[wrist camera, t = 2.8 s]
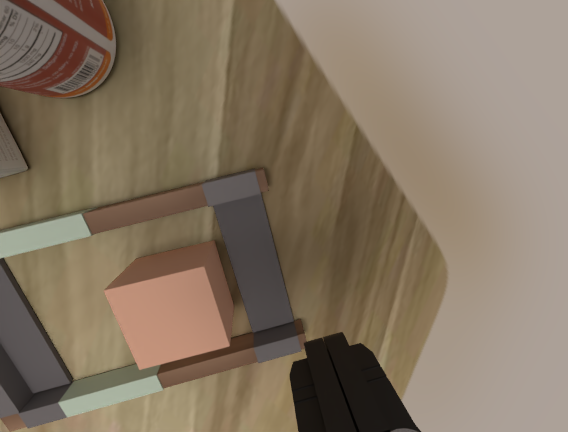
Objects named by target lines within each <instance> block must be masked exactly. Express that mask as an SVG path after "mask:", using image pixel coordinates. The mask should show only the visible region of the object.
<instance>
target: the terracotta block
mask: <svg viewBox="0 0 568 432" xmlns="http://www.w3.org/2000/svg"><path fill="white" fill-rule="evenodd" d="M104 293H105V295H106V297H107V299H108V301H109V304H110V306H111V308H112V310H113V313H114V315H115V317H116V319H117V321H118V324H119V326H120V328H121V330H122V332H123V335H124V337H125V339H126V341H127V343H128V346H129V348H130V350H131V352H132V355H133V357H134V359H135V361H136V363H137V366H138V368H139V370H141V369H145V368H149V367H153V366H157V365H160V364H164V363H168V362H172V361H176V360H180V359H183V358H187V357H191V356H195V355H199V354H202V353H206V352H210V351H214V350H218V349H222V348H225V347H229V346H230V341H231V331H232V322H233V312H234V304H233V300H232V297H231V294H230V290H229V287H228V284H227V280H226V277H225V274H224V271H223V267H222V264H221V261H220V257H219V254H218V251H217V247H216V244H215V241H214V240H213V241H209V242H205V243H200V244H196V245H192V246H188V247H183V248H179V249H175V250H171V251H166V252H162V253H158V254H154V255H149V256H145V257H141V258H137V259H135V260H134V261H133V262H132V263H131V264H130V265H129V266H128V267H127V268H126V269H125V270H124V271H123V272H122V273H121V274H120V275H119V276H118V277H117V278H116V279H115V280H114V281H113V282H112V283H111V284H110V285H109V286H108V287H107V288H106V289H105V290H104Z"/></svg>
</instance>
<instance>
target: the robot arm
mask: <svg viewBox="0 0 568 432" xmlns="http://www.w3.org/2000/svg"><path fill="white" fill-rule="evenodd" d="M323 339H324V341H323ZM323 339H322V338H319V339H315V340H311V341H308V342H304V347H305V351H306V355H307V358H306V359H302V360H299V361H295V362H293V365H292V368H291V372H290V382H291V388H292V394H293V400H294V406H295V413H296V419H297V425H298V431H299V432H421V431H420V430H419V429H418V427H416V425H415V423H414V422H413V420H412V419H411V417H410V415H409V413H408V412H407V410H406V408H405V407H404V405H403V403H402V401H401V400H400V398H399V396H398V395H397V393H396V391H395V390H394V388H393V386H392V384H391V383H390V381H389V379H388V378H387V377H386V374H385V373H384V371H383V369H382V367H380V364H379V362H378V361H377V359H376V357H375V356H374V354H373V352H372V351H370V350H369V349H368V348H367V347H365V346H364V345H363V344H361V343H359V344H355V345H352V346H349V344H348V342H347V340H346V338H345V336H344V334H343V333H342V332H340V333H336V334H333V335H329V336H326V337H323Z"/></svg>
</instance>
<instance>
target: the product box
mask: <svg viewBox="0 0 568 432" xmlns="http://www.w3.org/2000/svg"><path fill="white" fill-rule="evenodd" d="M27 169H28V167H27V165H26V162H25V160H24V158H23V156H22V154H21V152H20V150H19V148H18V146H17V144H16V142H15V140H14V138H13V136H12V134H11V132H10V131H9V129H8V127H7V125H6V123H5V121H4V119H3V117H2V115H1V113H0V178H1V177H5V176H9V175H12V174H16V173H20V172H23V171H26V170H27Z"/></svg>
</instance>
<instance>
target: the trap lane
mask: <svg viewBox="0 0 568 432" xmlns="http://www.w3.org/2000/svg"><path fill="white" fill-rule="evenodd" d="M265 191H269V188H268V184H267V180H266V176H265V172H264V169H263V168H259V169H251V170H247V171H243V172H239V173H234V174H230V175H226V176H222V177H218V178H214V179H210V180H206V181H205V182H201V183H197V184H193V185H189V186H185V187H181V188H176V189H172V190H168V191H164V192H160V193H156V194H152V195H148V196H144V197H139V198H135V199H131V200H127V201H123V202H119V203H115V204H111V205H107V206H103V207H95V208H91V209H87V210H82V211H78V212H74V213H70V214H66V215H62V216H58V217H54V218H50V219H46V220H41V221H37V222H33V223H29V224H25V225H21V226H17V227H13V228H9V229H4V230H0V418H1V420H2V421H3V423H4V424H5V425H6V427H7V428H8V430H9V431H10V432H11V431H14V430H18V429H21V428H25V427H27V428H31V427H35V426H38V425H42V424H45V423H49V422H53V421H56V420H60V419H63V418H67V417H70V416H74V415H77V414H81V413H84V412H88V411H91V410H95V409H99V408H102V407H106V406H109V405H113V404H116V403H120V402H123V401H127V400H130V399H134V398H137V397H141V396H144V395H148V394H152V393H155V392H159V391H162V390H163V389H164V388H166V387H170V386H173V385H177V384H180V383H184V382H188V381H191V380H195V379H198V378H202V377H205V376H209V375H212V374H216V373H219V372H223V371H226V370H230V369H234V368H237V367H241V366H244V365H248V364H251V363H255V362H258V363H261V362H265V361H268V360H272V359H275V358H279V357H282V356H286V355H289V354H293V353H297V352H300V351H301V349H304V348H305V347H304V342H307V341H306V337H305V333H304V330H303V326H302V323H301V319H299V320H296V321H294V320H293V316H292V312H291V308H290V304H289V300H288V296H287V292H286V288H285V285H284V281H283V277H282V273H281V269H280V265H279V261H278V257H277V254H276V250H275V246H274V242H273V238H272V234H271V230H270V226H269V222H268V219H267V215H266V211H265V207H264V203H263V199H262V195H261V192H265ZM204 206H208V207H209V206H213V207H214V210H215V214H216V217H217V220H218V223H219V226H220V229H221V233H222V236H223V239H224V242H225V245H226V249H227V252H228V255H229V258H230V261H231V264H232V268H233V271H234V274H235V277H236V280H237V283H238V287H239V290H240V293H241V296H242V299H243V303H244V306H245V309H246V312H247V315H248V318H249V322H250V325H251V328H252V331H253V332H252V333H249V334H245V335H242V336H238V337H234V338H231V341H230V346H229V347H225V348H222V349H218V350H214V351H210V352H206V353H202V354H199V355H195V356H191V357H187V358H183V359H180V360H176V361H172V362H168V363H164V364H160V365H157V366H153V367H149V368H145V369H141V370H139V368H138V366H137V364H134V365H131V366H127V367H123V368H120V369H116V370H113V371H109V372H105V373H102V374H98V375H95V376H91V377H87V378H84V379H80V380H76V381H73V382H72V380H73V379H72V377H71V375H70V373H69V372H68V370H67V368H66V366H65V365H64V363H63V361H62V360H61V358H60V356H59V354H58V353H57V351H56V349H55V348H54V346H53V344H52V342H51V341H50V339H49V337H48V335H47V334H46V332H45V330H44V329H43V327H42V325H41V323H40V322H39V320H38V318H37V317H36V315H35V313H34V311H33V310H32V308H31V306H30V305H29V303H28V301H27V299H26V298H25V296H24V294H23V292H22V291H21V289H20V287H19V286H18V284H17V282H16V280H15V279H14V277H13V275H12V274H11V272H10V270H9V268H8V267H7V265H6V263H5V262H4V260H3V258H4V257H8V256H12V255H16V254H21V253H25V252H29V251H33V250H37V249H41V248H45V247H49V246H53V245H57V244H61V243H65V242H69V241H73V240H77V239H81V238H85V237H89V236H92V235H94V234H96V233H100V232H104V231H108V230H112V229H116V228H120V227H124V226H128V225H132V224H136V223H140V222H144V221H148V220H152V219H156V218H160V217H164V216H168V215H172V214H176V213H180V212H184V211H188V210H192V209H196V208H200V207H204Z"/></svg>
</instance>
